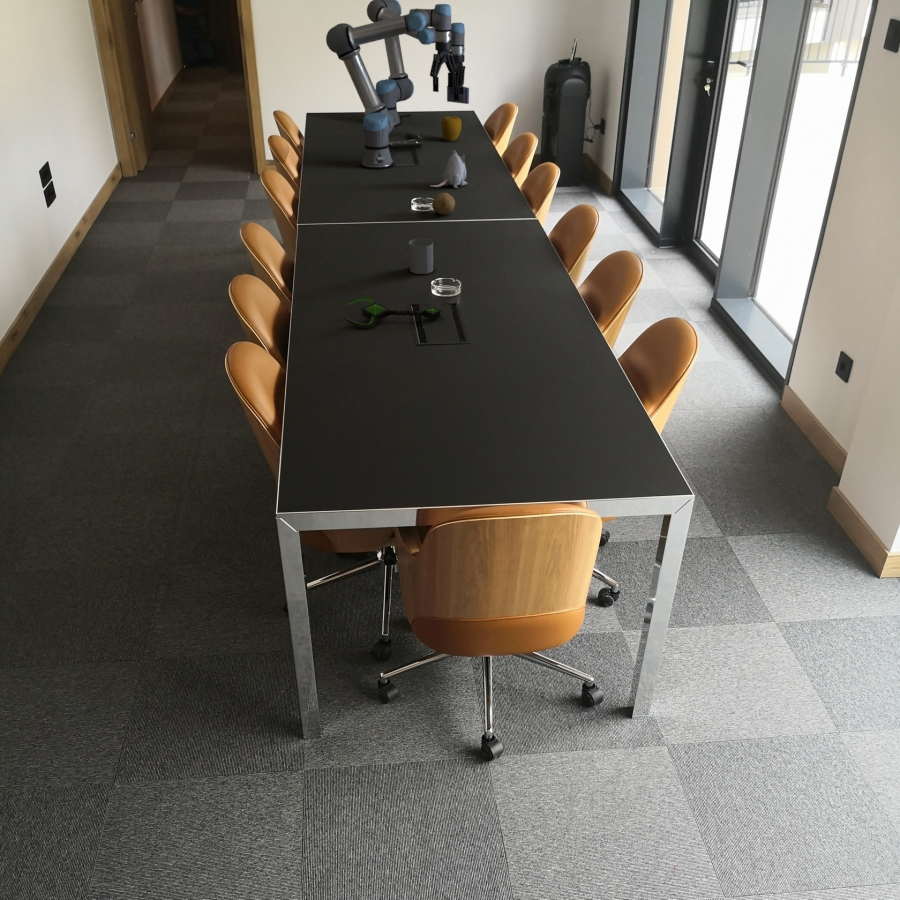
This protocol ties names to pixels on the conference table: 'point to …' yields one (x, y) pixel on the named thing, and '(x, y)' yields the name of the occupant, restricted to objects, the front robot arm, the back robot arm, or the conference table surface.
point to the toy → (454, 171)
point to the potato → (443, 203)
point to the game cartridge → (462, 95)
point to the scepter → (388, 312)
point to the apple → (451, 127)
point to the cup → (421, 256)
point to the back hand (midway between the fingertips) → (457, 99)
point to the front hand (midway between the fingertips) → (443, 89)
